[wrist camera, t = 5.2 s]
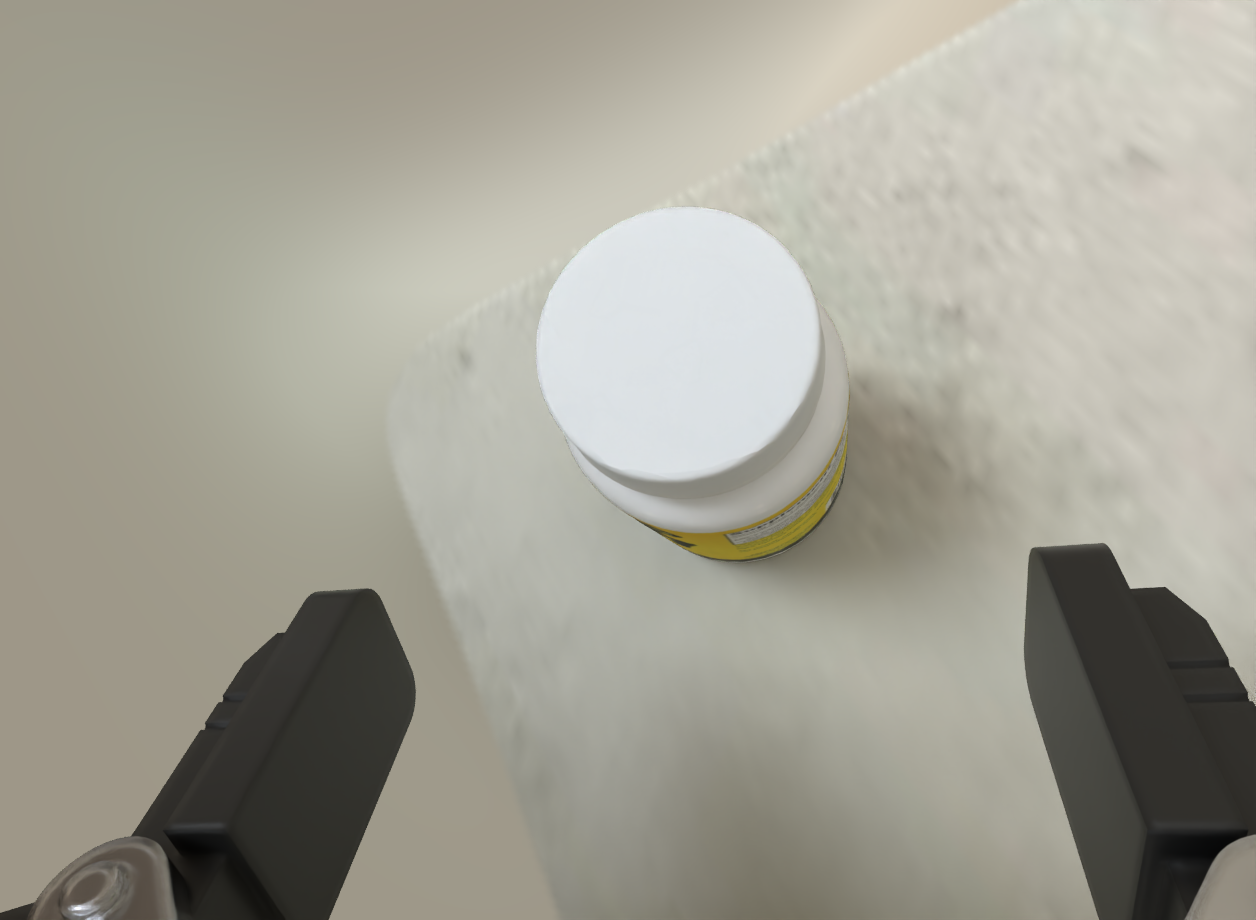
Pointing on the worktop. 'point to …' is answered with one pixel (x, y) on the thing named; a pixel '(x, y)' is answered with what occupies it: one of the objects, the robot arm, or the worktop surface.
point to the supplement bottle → (698, 381)
